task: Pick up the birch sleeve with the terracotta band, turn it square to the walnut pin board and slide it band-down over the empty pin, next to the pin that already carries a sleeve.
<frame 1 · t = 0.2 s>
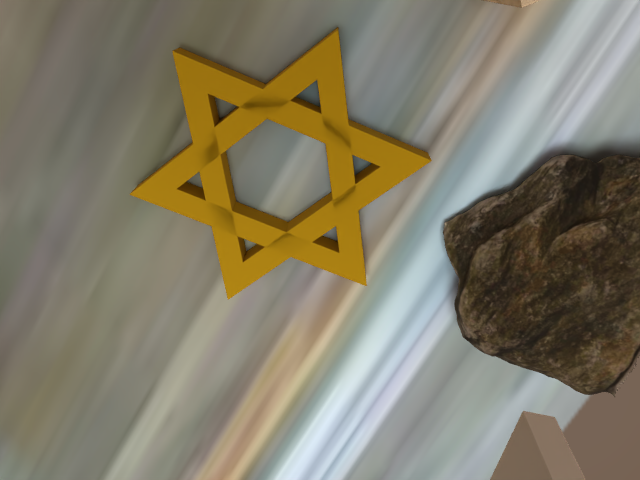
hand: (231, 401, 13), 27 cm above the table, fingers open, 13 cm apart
rock: (550, 236, 41), on the table
star of david: (280, 167, 40), on the table
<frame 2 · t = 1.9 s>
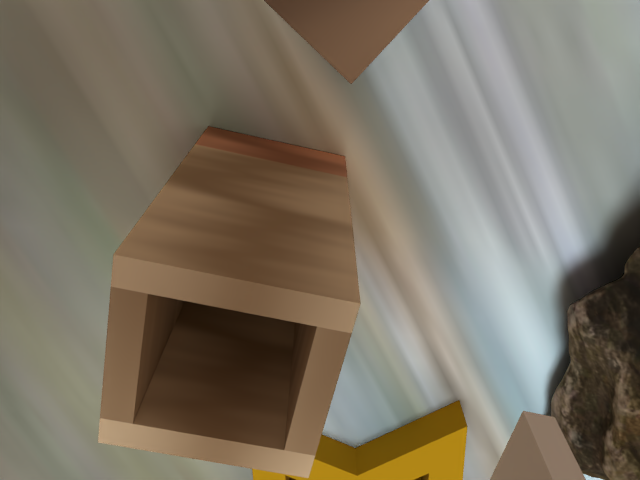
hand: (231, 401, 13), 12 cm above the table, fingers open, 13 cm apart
sleeve: (264, 204, 24), on the table
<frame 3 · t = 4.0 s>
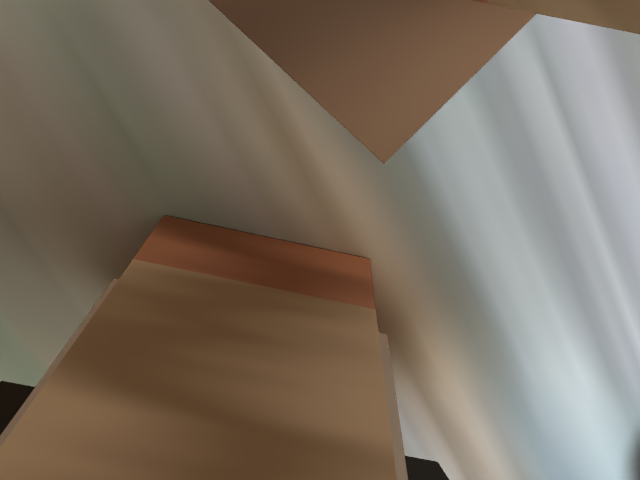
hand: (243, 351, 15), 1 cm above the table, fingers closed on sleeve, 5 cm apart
sleeve: (250, 323, 16), on the table, touching gripper
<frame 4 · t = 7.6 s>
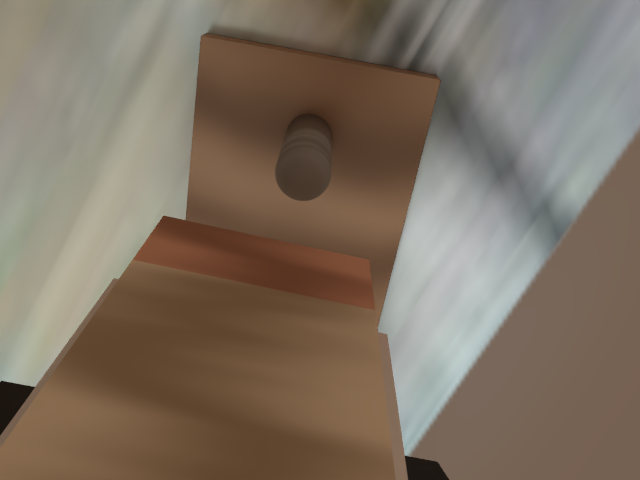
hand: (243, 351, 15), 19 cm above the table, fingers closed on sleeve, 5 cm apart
sleeve: (249, 324, 16), point 18 cm above the table, touching gripper
pin board: (293, 229, 34), on the table
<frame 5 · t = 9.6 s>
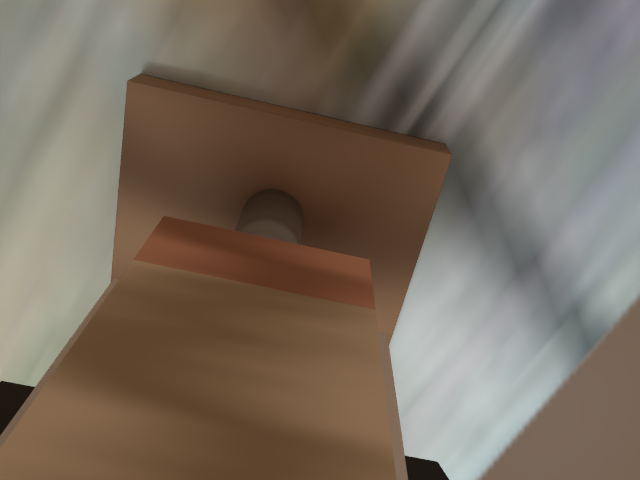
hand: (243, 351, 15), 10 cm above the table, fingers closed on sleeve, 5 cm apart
sleeve: (250, 324, 16), point 9 cm above the table, touching gripper
pin board: (251, 323, 26), on the table
when the fingers open (4 cm above the table, at t = 11.4 s): sleeve drops 1 cm, resting on pin board.
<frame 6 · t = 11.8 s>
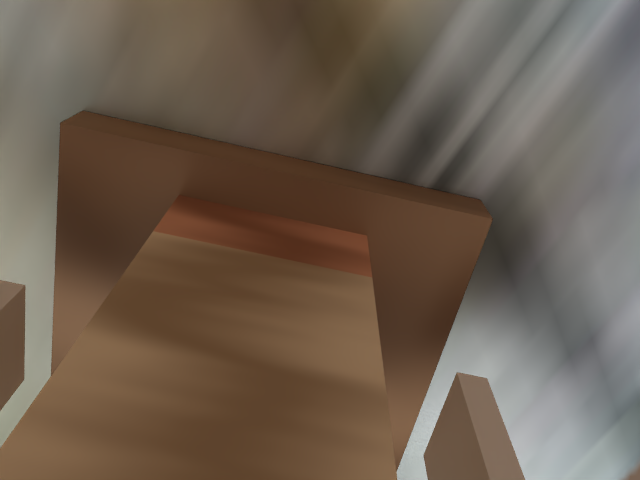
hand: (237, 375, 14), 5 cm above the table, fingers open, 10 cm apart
sleeve: (257, 296, 17), point 1 cm above the table, touching pin board
pin board: (233, 413, 21), on the table
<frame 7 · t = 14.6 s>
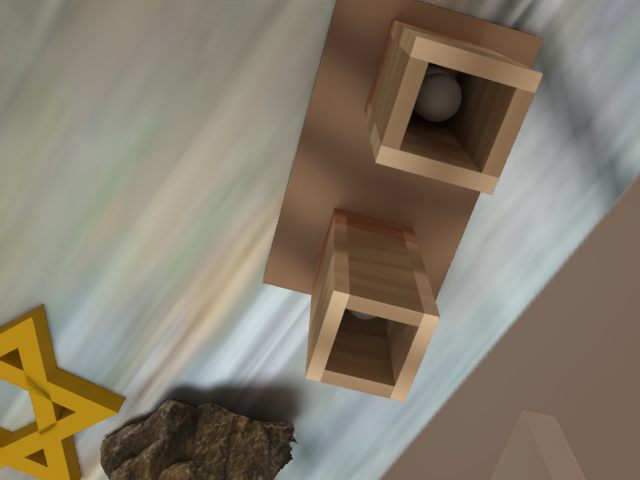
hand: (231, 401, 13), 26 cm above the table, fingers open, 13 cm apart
rock: (200, 445, 49), on the table
star of david: (6, 390, 47), on the table
sleeve: (421, 78, 34), point 1 cm above the table, touching pin board
pin board: (387, 165, 38), on the table
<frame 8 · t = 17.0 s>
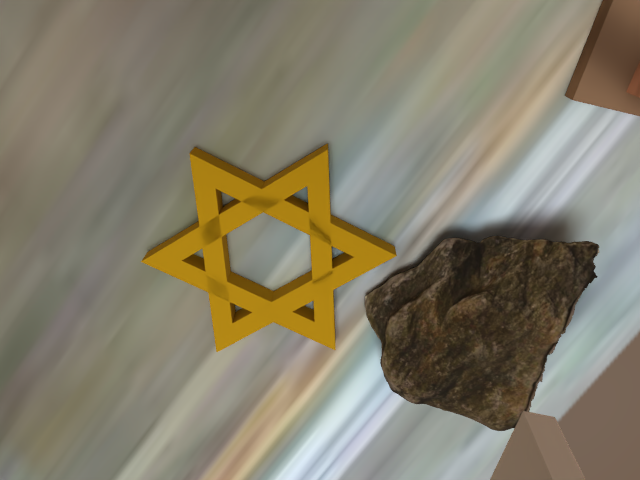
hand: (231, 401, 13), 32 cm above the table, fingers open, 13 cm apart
rock: (458, 298, 49), on the table
star of david: (270, 246, 47), on the table
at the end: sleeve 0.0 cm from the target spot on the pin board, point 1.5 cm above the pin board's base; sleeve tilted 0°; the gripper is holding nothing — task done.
